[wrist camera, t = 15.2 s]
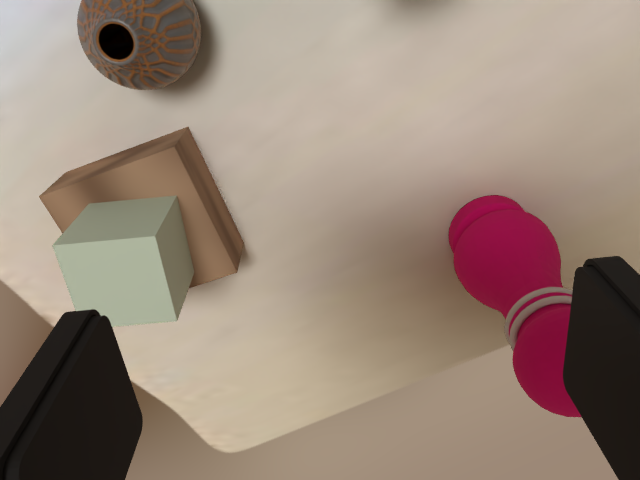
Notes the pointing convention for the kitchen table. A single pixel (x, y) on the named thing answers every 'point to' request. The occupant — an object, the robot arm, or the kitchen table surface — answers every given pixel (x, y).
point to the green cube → (128, 260)
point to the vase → (140, 39)
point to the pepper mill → (518, 290)
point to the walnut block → (158, 181)
